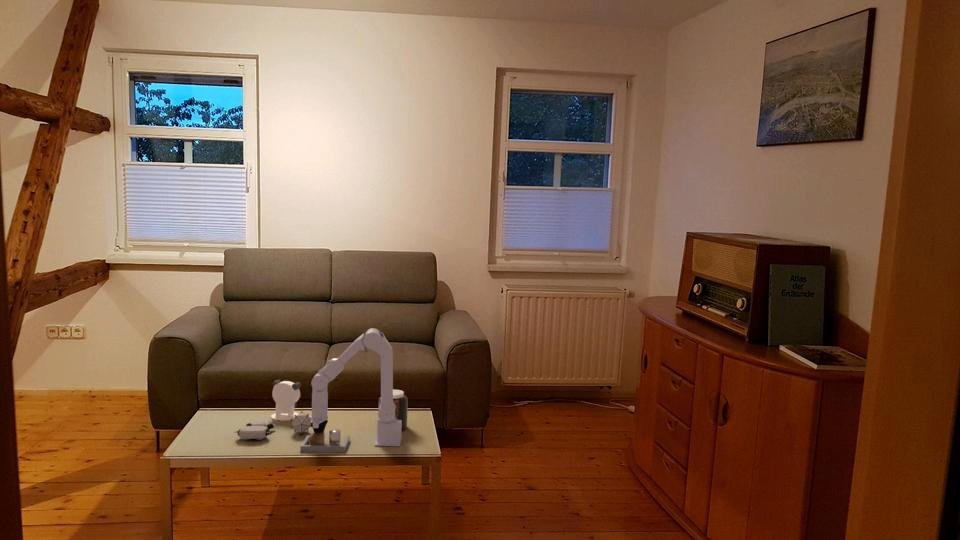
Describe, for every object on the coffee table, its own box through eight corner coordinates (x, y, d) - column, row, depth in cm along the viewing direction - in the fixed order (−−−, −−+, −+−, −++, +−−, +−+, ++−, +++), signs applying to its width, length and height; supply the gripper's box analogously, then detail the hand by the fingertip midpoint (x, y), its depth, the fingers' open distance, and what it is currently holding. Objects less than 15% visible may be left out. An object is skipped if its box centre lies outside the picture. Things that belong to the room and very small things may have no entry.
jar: (404, 433, 243) (405, 397, 241) (375, 432, 243) (376, 395, 241) (408, 423, 254) (409, 388, 253) (380, 422, 255) (381, 387, 253)
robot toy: (245, 431, 241) (233, 442, 226) (245, 419, 241) (233, 430, 226) (277, 431, 242) (267, 443, 227) (277, 420, 242) (267, 430, 227)
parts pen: (349, 441, 233) (349, 435, 233) (344, 452, 222) (345, 446, 222) (307, 440, 232) (307, 435, 232) (300, 451, 221) (300, 446, 221)
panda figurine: (305, 413, 262) (306, 379, 260) (291, 422, 251) (291, 386, 250) (280, 410, 265) (281, 376, 263) (265, 418, 254) (265, 383, 252)
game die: (298, 443, 238) (284, 427, 233) (298, 429, 245) (284, 412, 240) (318, 433, 238) (304, 416, 233) (318, 418, 245) (305, 402, 240)
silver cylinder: (340, 444, 229) (340, 429, 228) (339, 448, 225) (340, 433, 224) (329, 444, 228) (330, 429, 228) (328, 449, 224) (328, 433, 224)
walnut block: (324, 444, 228) (324, 432, 228) (322, 449, 224) (322, 437, 223) (312, 444, 228) (312, 432, 228) (309, 449, 223) (309, 437, 223)
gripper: (313, 399, 235) (312, 433, 237) (304, 411, 221) (303, 447, 222) (331, 399, 236) (330, 433, 237) (324, 411, 221) (323, 447, 223)
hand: (319, 440), depth 230 cm, fingers closed
